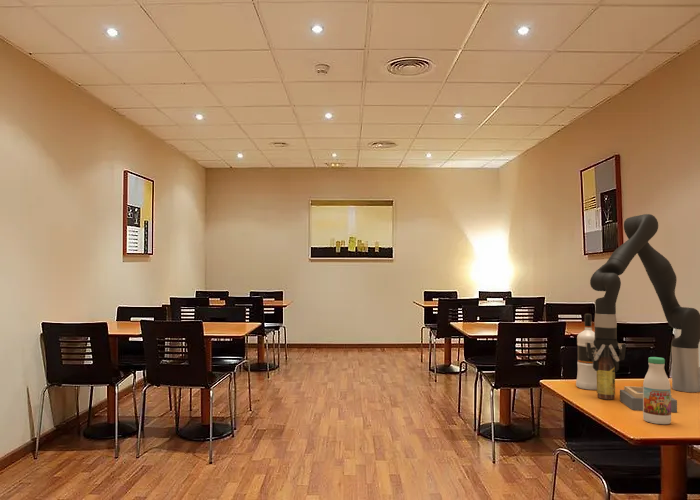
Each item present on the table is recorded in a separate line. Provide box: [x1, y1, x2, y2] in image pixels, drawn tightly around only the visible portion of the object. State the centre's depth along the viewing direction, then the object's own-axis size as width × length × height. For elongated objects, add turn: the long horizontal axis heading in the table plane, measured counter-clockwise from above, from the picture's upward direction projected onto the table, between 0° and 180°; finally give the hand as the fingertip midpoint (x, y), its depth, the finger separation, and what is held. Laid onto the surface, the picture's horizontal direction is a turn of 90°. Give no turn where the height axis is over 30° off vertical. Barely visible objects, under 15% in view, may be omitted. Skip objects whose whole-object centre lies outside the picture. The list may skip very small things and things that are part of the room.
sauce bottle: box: [596, 345, 616, 400], centre depth 205 cm, size 6×6×20 cm
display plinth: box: [619, 385, 678, 413], centre depth 193 cm, size 14×14×6 cm
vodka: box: [575, 313, 600, 391], centre depth 223 cm, size 9×9×30 cm
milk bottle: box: [642, 356, 672, 425], centre depth 173 cm, size 8×8×20 cm
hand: (605, 370), depth 205 cm, fingers closed on sauce bottle, 6 cm apart
